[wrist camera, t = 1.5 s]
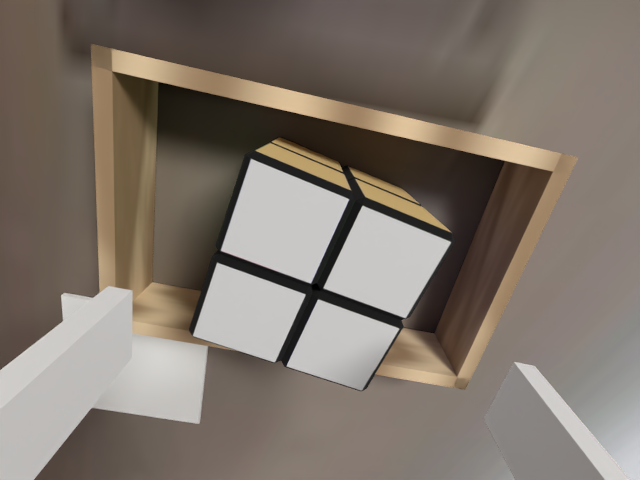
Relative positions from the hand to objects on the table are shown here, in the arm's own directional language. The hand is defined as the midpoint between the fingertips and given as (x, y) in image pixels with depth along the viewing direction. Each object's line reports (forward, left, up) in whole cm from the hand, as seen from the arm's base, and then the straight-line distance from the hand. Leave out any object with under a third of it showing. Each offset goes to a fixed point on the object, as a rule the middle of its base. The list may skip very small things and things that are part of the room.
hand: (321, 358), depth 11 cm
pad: (-13, -16, -14) cm, 25 cm away
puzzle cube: (0, 0, -15) cm, 15 cm away
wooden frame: (0, 0, -14) cm, 14 cm away
